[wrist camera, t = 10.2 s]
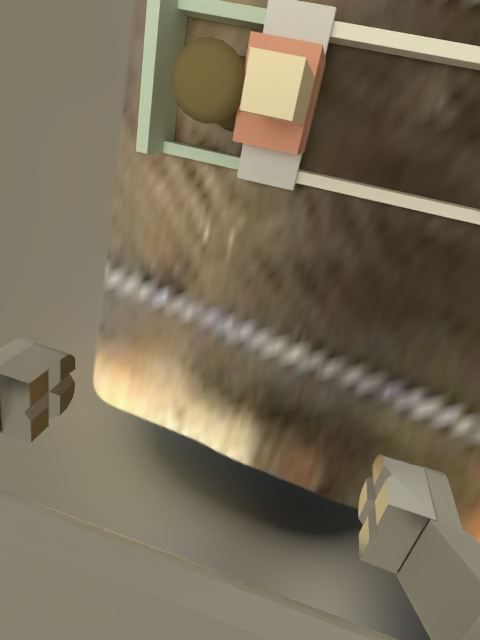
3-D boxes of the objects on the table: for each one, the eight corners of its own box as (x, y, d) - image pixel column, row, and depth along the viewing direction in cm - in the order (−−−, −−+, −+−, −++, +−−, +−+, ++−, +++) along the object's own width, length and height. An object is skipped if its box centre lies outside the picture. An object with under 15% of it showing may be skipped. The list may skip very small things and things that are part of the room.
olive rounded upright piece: (283, 76, 36) (262, 51, 26) (253, 144, 39) (222, 145, 29) (222, 42, 36) (178, 5, 26) (195, 113, 39) (146, 103, 29)
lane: (553, 68, 32) (596, 53, 26) (484, 222, 37) (508, 236, 31) (178, 0, 35) (149, -25, 30) (163, 149, 40) (135, 151, 35)
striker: (336, 19, 33) (333, -68, 19) (296, 186, 39) (271, 212, 25) (275, 9, 34) (230, -84, 20) (245, 174, 39) (192, 193, 25)
